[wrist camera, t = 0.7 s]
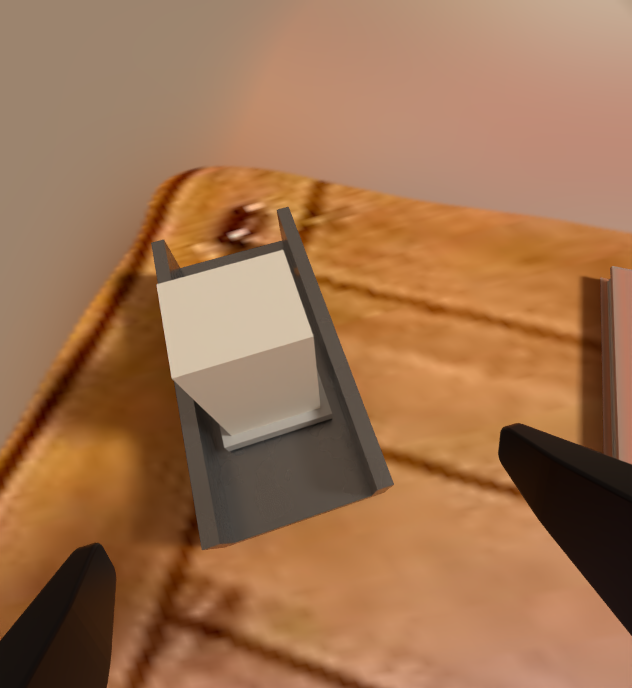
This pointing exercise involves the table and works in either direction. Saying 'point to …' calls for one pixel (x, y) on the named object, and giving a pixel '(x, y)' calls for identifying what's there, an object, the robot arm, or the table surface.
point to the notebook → (617, 363)
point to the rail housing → (287, 449)
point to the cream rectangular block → (244, 349)
